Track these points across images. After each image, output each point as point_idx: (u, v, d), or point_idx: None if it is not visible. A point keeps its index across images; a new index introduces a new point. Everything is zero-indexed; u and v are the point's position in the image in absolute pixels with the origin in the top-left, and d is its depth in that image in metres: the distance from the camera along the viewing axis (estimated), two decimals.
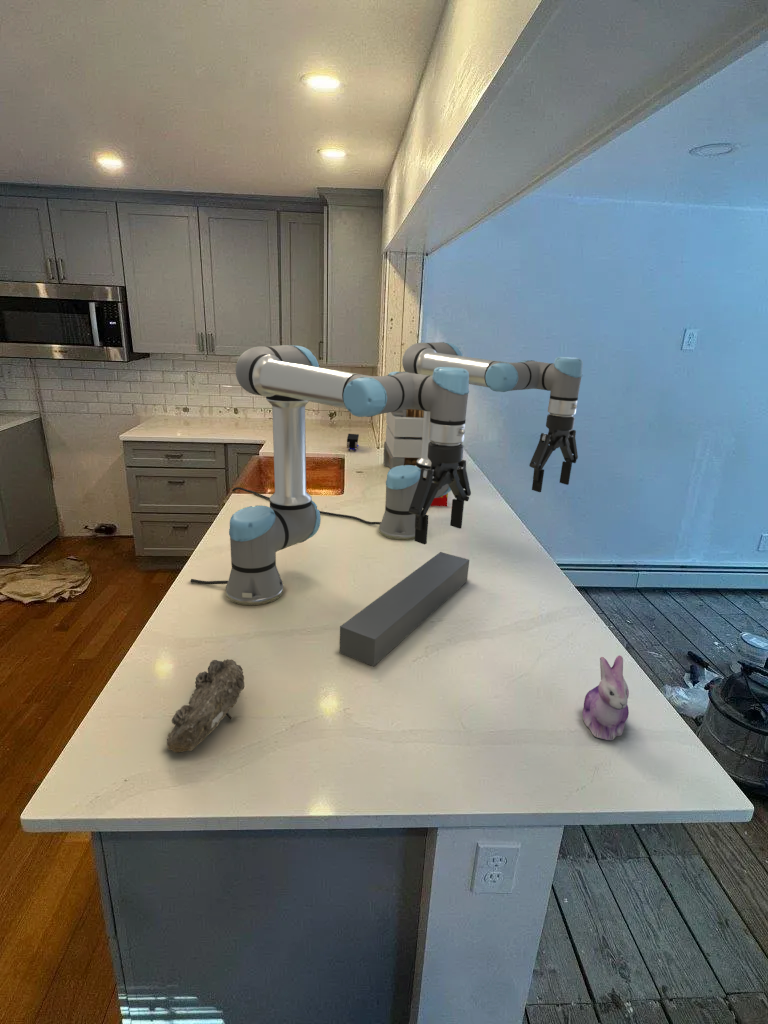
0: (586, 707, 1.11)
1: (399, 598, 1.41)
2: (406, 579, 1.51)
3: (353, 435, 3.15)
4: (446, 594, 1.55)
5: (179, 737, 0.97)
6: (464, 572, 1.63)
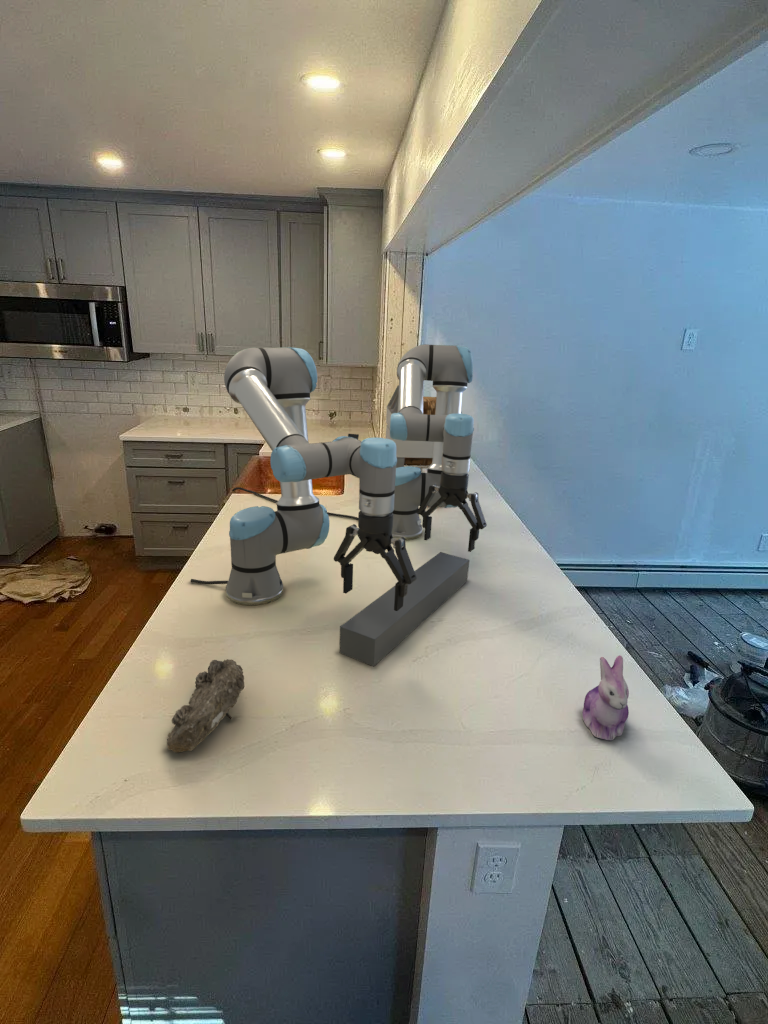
0: (586, 707, 1.11)
1: None
2: None
3: (353, 435, 3.15)
4: (446, 594, 1.55)
5: (179, 737, 0.97)
6: (464, 572, 1.63)
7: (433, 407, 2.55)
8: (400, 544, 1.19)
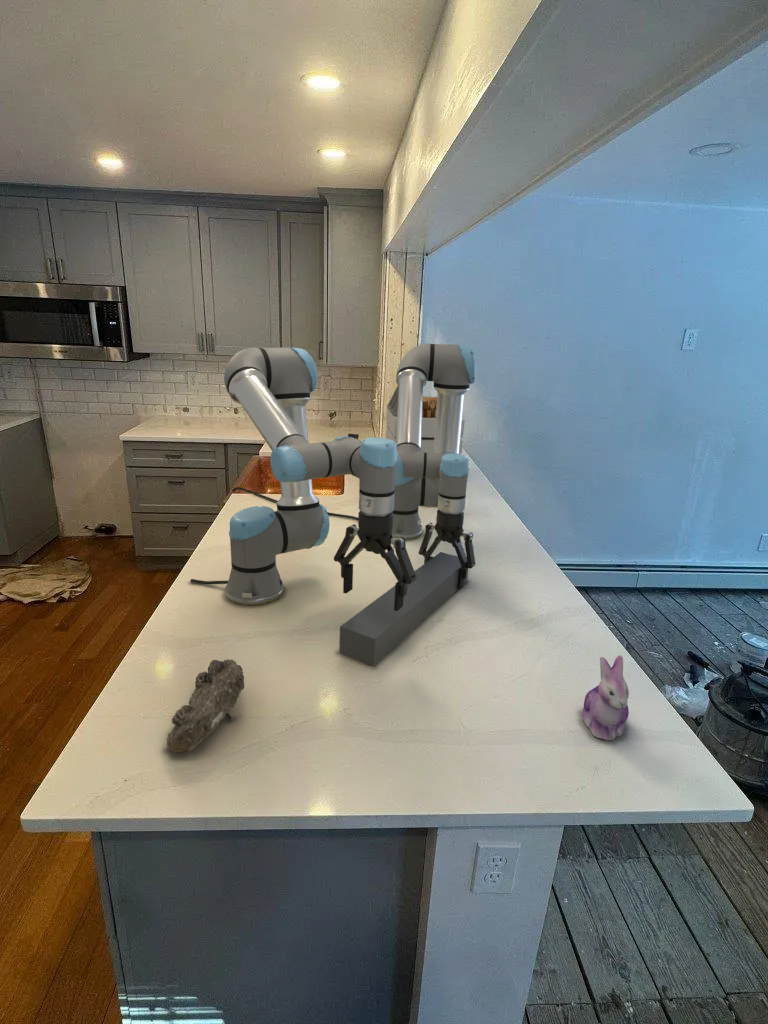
0: (586, 707, 1.11)
1: None
2: None
3: (353, 435, 3.15)
4: (446, 594, 1.55)
5: (179, 737, 0.97)
6: None
7: (433, 407, 2.55)
8: (400, 544, 1.19)
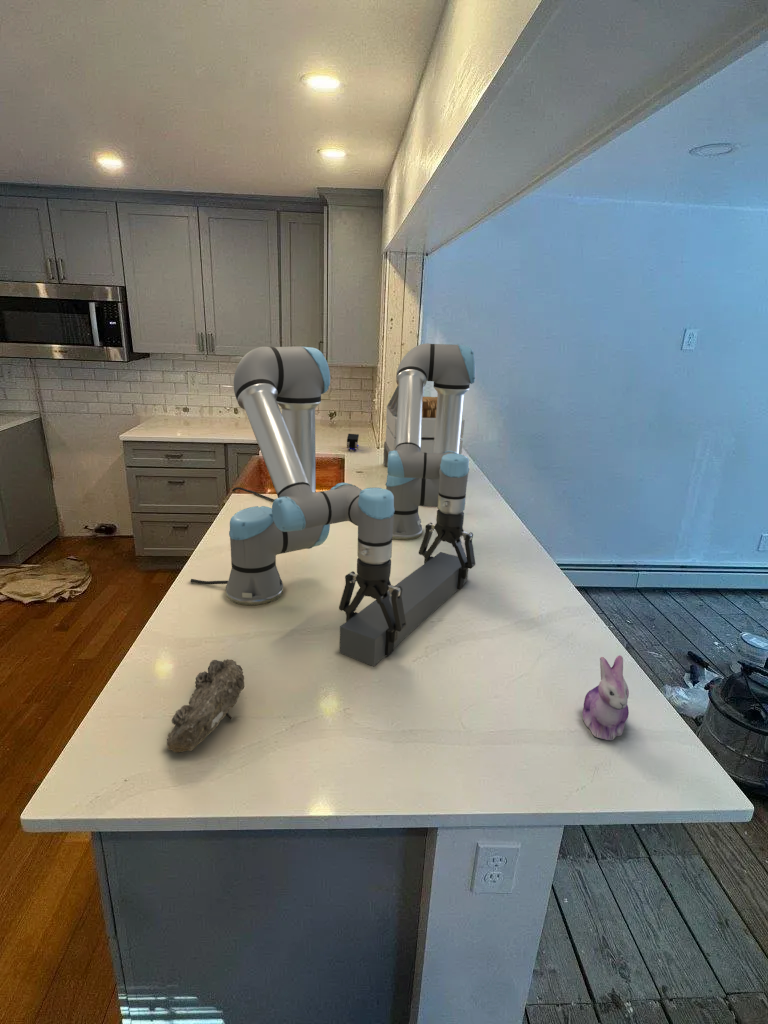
0: (586, 707, 1.11)
1: None
2: (406, 579, 1.51)
3: (353, 435, 3.15)
4: (446, 594, 1.55)
5: (179, 737, 0.97)
6: None
7: (433, 407, 2.55)
8: (397, 594, 1.23)
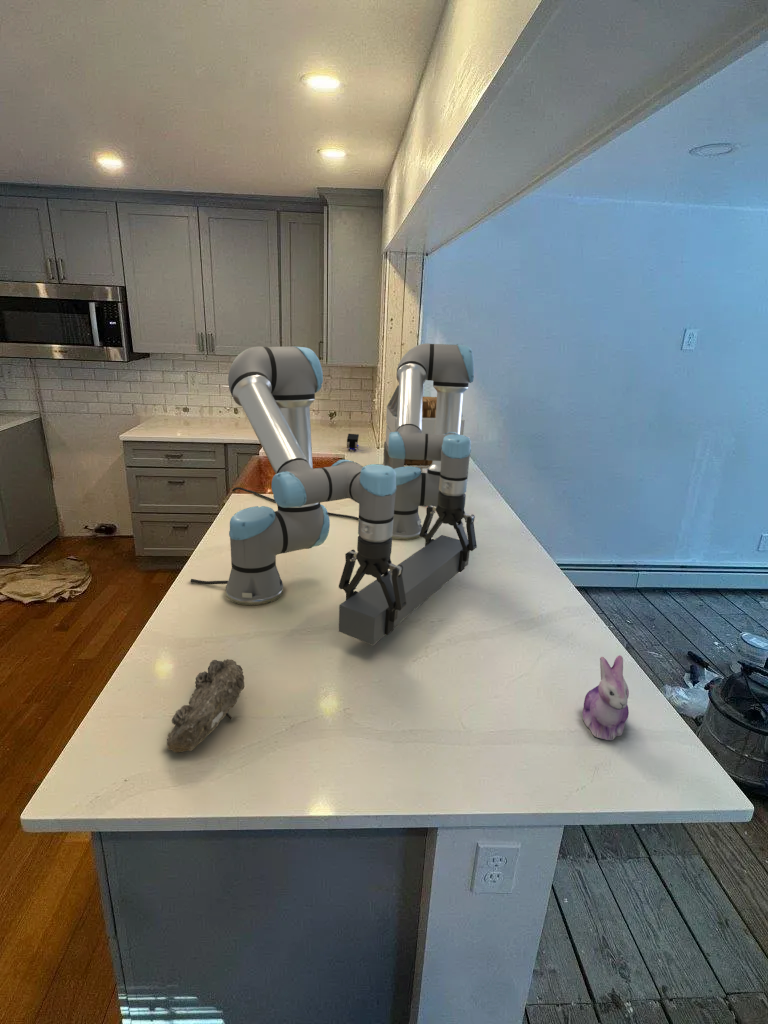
0: (586, 707, 1.11)
1: None
2: (407, 560, 1.50)
3: (353, 435, 3.15)
4: (446, 577, 1.53)
5: (179, 737, 0.97)
6: None
7: (433, 407, 2.55)
8: (398, 572, 1.22)
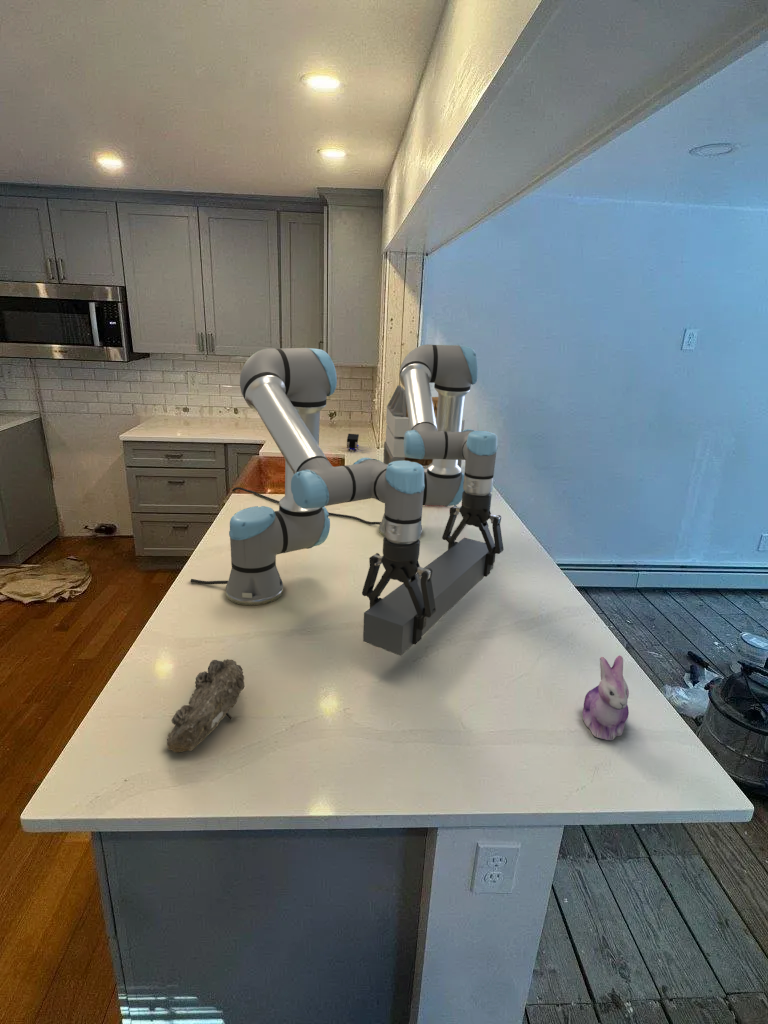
0: (586, 707, 1.11)
1: None
2: (431, 564, 1.41)
3: (353, 435, 3.15)
4: (473, 581, 1.45)
5: (179, 737, 0.97)
6: None
7: None
8: (427, 576, 1.13)
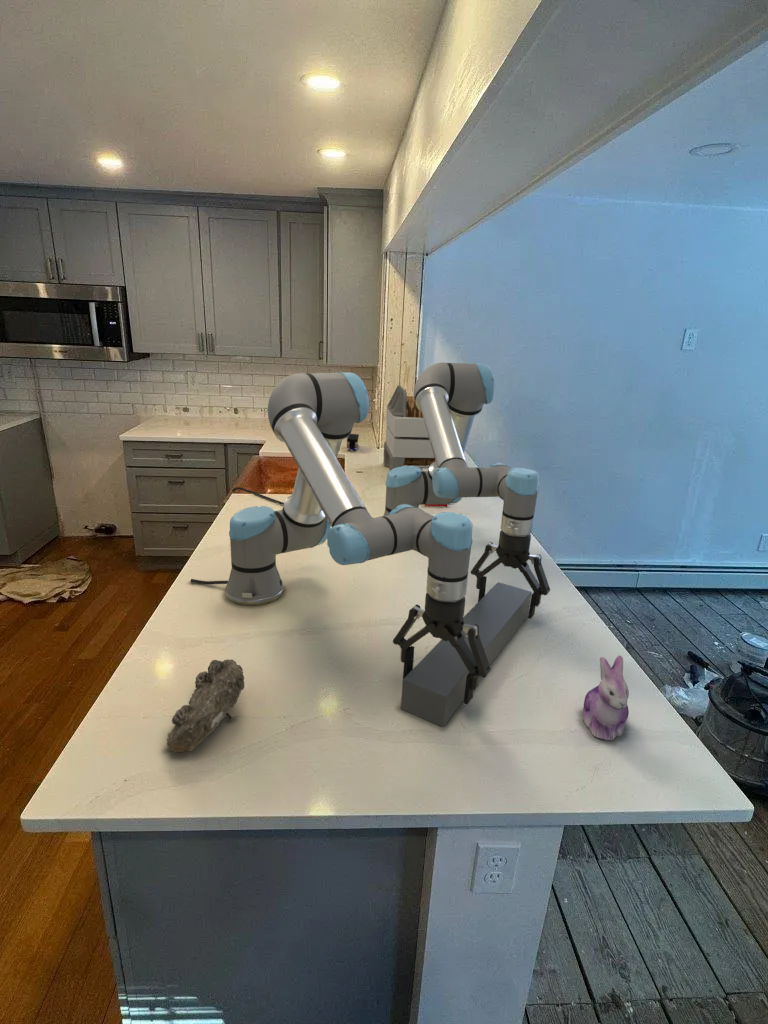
0: (586, 707, 1.11)
1: None
2: (467, 617, 1.34)
3: (353, 435, 3.15)
4: (510, 633, 1.37)
5: (179, 737, 0.97)
6: (526, 606, 1.46)
7: None
8: (474, 633, 1.05)
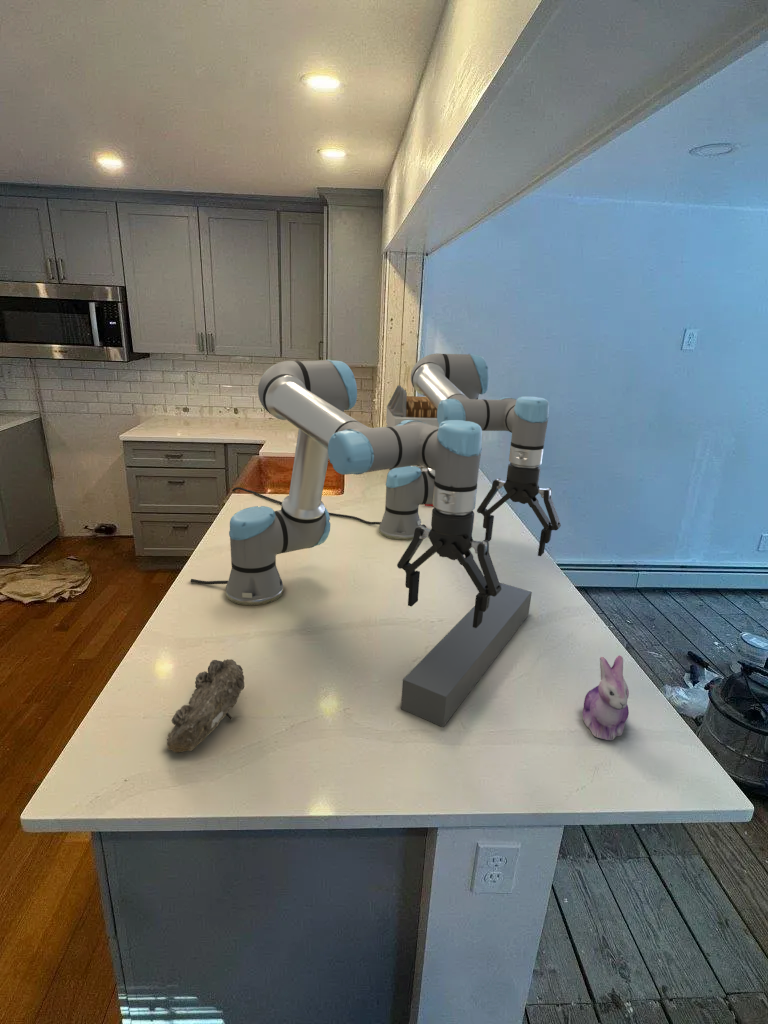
0: (586, 707, 1.11)
1: (464, 642, 1.23)
2: (467, 617, 1.34)
3: None
4: (510, 633, 1.37)
5: (179, 737, 0.97)
6: (526, 606, 1.46)
7: (433, 407, 2.55)
8: (484, 548, 0.99)
